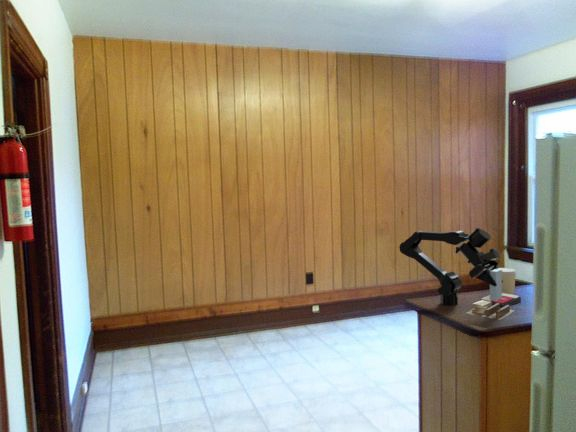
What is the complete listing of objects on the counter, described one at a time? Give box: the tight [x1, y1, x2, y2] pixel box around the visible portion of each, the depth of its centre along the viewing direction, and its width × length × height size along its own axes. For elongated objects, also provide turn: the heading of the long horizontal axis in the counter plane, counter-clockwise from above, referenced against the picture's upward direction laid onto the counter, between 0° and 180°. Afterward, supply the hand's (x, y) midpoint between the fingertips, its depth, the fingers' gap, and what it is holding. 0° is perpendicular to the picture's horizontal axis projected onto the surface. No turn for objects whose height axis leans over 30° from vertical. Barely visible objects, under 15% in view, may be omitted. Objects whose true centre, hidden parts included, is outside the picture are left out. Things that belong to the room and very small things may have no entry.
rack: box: [466, 303, 516, 321], centre depth 191 cm, size 14×16×4 cm
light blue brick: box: [489, 269, 502, 301], centre depth 188 cm, size 2×6×12 cm, turn 134°
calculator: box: [479, 293, 522, 308], centre depth 204 cm, size 11×4×15 cm
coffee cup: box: [498, 267, 517, 295], centre depth 220 cm, size 9×9×12 cm
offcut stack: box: [471, 300, 492, 314], centre depth 193 cm, size 5×9×3 cm, turn 134°
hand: (499, 284), depth 187 cm, fingers closed on light blue brick, 6 cm apart
